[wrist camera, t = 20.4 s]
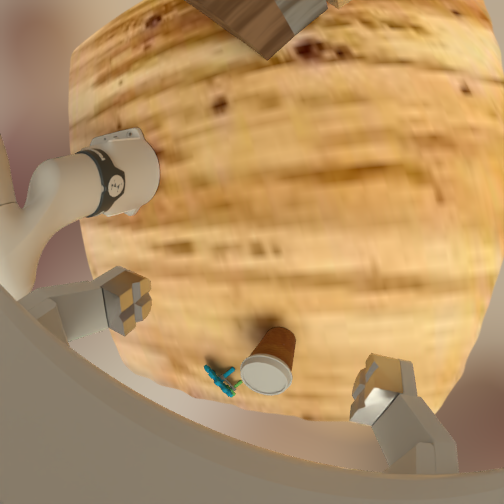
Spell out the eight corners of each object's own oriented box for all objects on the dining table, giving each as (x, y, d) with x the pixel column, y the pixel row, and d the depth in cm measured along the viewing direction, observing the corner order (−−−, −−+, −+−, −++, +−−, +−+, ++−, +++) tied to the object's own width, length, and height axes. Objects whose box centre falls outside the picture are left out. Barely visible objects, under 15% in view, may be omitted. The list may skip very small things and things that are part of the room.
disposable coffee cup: (312, 336, 53) (301, 379, 42) (287, 362, 57) (272, 403, 47) (272, 311, 54) (252, 351, 43) (251, 340, 58) (229, 378, 48)
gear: (197, 361, 64) (208, 381, 55) (215, 347, 66) (229, 364, 57) (222, 387, 68) (236, 407, 58) (239, 374, 69) (255, 392, 60)
